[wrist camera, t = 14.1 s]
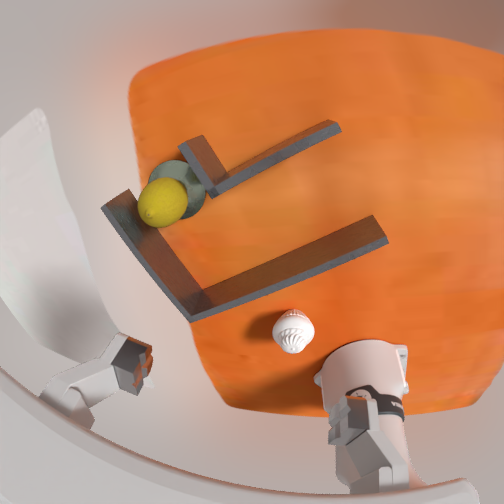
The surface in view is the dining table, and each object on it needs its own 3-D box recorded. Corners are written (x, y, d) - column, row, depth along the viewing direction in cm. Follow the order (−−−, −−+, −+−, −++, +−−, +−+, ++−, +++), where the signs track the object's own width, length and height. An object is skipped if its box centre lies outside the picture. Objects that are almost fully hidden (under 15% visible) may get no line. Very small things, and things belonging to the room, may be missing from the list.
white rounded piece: (303, 295, 40) (304, 329, 34) (319, 323, 42) (321, 356, 36) (266, 309, 42) (262, 343, 36) (284, 334, 45) (282, 368, 39)
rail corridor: (375, 221, 33) (388, 243, 28) (201, 296, 43) (190, 323, 37) (304, 77, 26) (307, 71, 21) (124, 192, 35) (100, 208, 30)
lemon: (165, 215, 36) (138, 242, 29) (151, 177, 34) (119, 197, 27) (202, 206, 35) (180, 233, 28) (188, 165, 33) (161, 182, 26)
